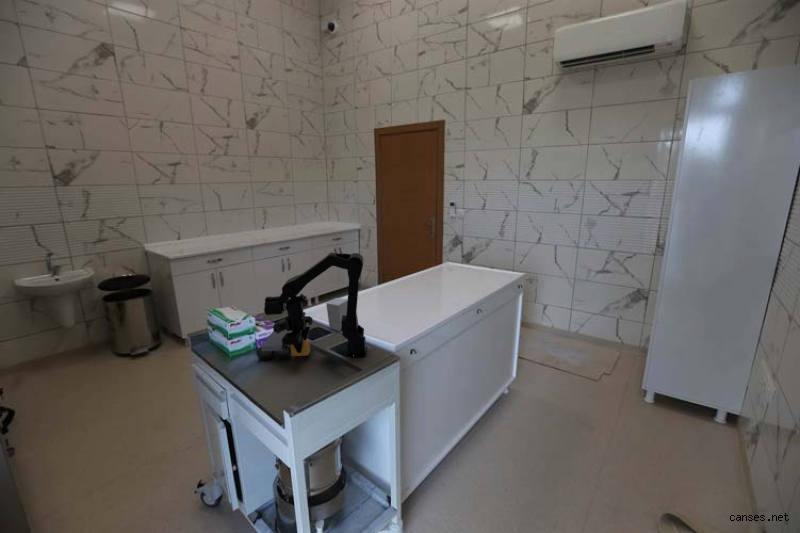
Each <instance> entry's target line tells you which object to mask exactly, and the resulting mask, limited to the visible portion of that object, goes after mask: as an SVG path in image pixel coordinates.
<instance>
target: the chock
mask: <svg viewBox="0 0 800 533" xmlns="http://www.w3.org/2000/svg"><path fill="white" fill-rule="evenodd" d="M290 346H291V352H292V354H291V356H292V357H296V356H297V357H303V356H304V357H305V356H309V354H310V352H311V345H310V340H309V339H306V340H303V345H302V350H301V353H298V352H297V351H296V349H295V347H294V345H290Z"/></svg>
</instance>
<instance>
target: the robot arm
mask: <svg viewBox="0 0 800 533" xmlns="http://www.w3.org/2000/svg"><path fill="white" fill-rule="evenodd" d="M331 267H336V268H339V269H342V270H347V271H346V272H347V276H348V290H347V300H348V302H347V314H346V316H345V315H342V320H341V325H342V326H341V331H340V332H341V334H342V336H343V337H344V338H345V339H347V343H346V347H347V353H348V357H349V356H353V355H354V356H358V357H357V358H365V357H366V356H367V351H368V347H367V342H366V336H365V328H364V327H362V326H361V325H360V324H359V321H358V320H359V319H358V313H357V312H358V310H357V308H358V298H359V297H358V296H359V285H360V284H359V283H360V278H361V274H362V271H363V267H364V257H363V256H362V254H360V253H358V252H353V253H338V252H337V253H336V252H330V253H328V254H327V255H326V256H325V257H323V258H322V259H320V260H319V261H317V262H316V263H315V264H314V265H313V266H311V267H310V268H308V269H307V270H306V271H304V272H303V273H301V274H298V275H295V276H293V277H291V278H289V279H287V280H286V281H285V283H284V284H283V286H282V287H281V292H282V293H281V294H280V295H278V296H266V297H265V298H264V308H263V311H264V314H265V315H266V316H275V315H276V316H277V315H283V314H284V312H287V313H286V314H287V316H286V317H284V318H283V319H280V320H277V321H276V323H274V324H273V326H272V330H273V331H275V332H276V333H280V332H281V331H284V330H286V329H287V331H290V330H292V332H291V333H286V334H285V336H284V337H283V338H282V344H283V345H294V347H295V349H296V351H297V352H298V353H301V350H302V345H303V340H308V337H309V336H308V335H309V332H310V330H311V327H310V326H312V324H314V323H313V322H314V320H313V317H311V316H310V315H306V311H304V308H303V302H306V300H307V299H308V297H307V296H306V295H304V294H303V293H301V291H303V289H304V288H305V287H306V286H307V285H308V284H309V283H310V282H312V281H314V280H315V279H316V278H317V277H319V276H320V275H322V274H323V273H324V272H326V271H327V270H328V269H330V268H331ZM300 293H301V294H300ZM299 294H300V295H299ZM307 325H309V326H307ZM273 331H272V332H273Z"/></svg>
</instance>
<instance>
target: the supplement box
mask: <svg viewBox="0 0 800 533" xmlns="http://www.w3.org/2000/svg"><path fill="white" fill-rule="evenodd" d="M347 302H348V298H346V299H344V298H339V297H335V298H333V299H331V300H329V301H328V302H326V309H327V310H326V311H327V313H326V314H327V318H328V319H327V320H328V326H329V329H330V330H334V331H339V332H342V331H341V326H342V325H341V320H342V315H345V316H346V314H347Z"/></svg>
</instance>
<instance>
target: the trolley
mask: <svg viewBox="0 0 800 533" xmlns="http://www.w3.org/2000/svg"><path fill="white" fill-rule="evenodd" d="M291 332H292V330H290V331H287V329H286V330H284V331H281V332H280V333H276V332H275V331H272V332H271V333H270V335H269V336H268V337H267V339H266V340H265V341H264V342H263V343H262V344H261V345H260V346H259V347H258V348H257V350H256V356H257V358H258V359H259V360H261V361H263V362H268V361H270V360H271V359H272V358H273V356H275V358H276V359H277V360H279V361H282V362H283V361H287V360H288V359H289V358H290V357H291V356H292V352H291V346H290V345H283V344H282V338H283V337H284V336H285V334H286V333H291Z"/></svg>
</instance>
